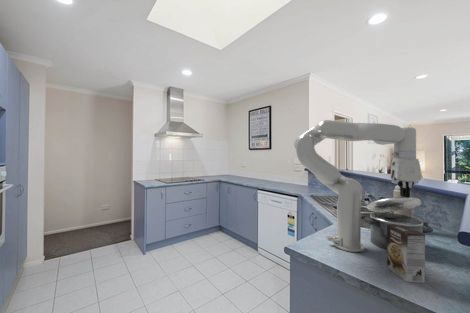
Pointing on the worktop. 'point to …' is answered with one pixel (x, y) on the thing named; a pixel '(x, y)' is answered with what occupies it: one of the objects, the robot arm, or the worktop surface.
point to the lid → (393, 204)
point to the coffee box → (406, 253)
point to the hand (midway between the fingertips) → (404, 196)
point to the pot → (384, 219)
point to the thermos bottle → (397, 194)
